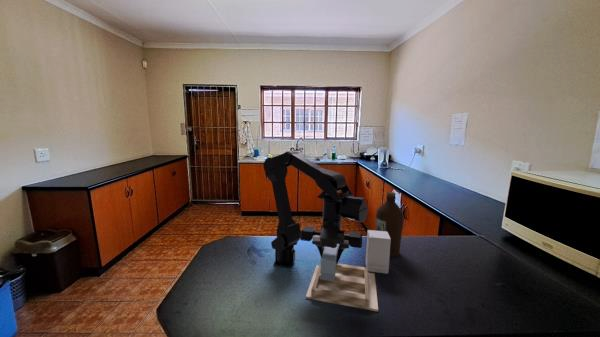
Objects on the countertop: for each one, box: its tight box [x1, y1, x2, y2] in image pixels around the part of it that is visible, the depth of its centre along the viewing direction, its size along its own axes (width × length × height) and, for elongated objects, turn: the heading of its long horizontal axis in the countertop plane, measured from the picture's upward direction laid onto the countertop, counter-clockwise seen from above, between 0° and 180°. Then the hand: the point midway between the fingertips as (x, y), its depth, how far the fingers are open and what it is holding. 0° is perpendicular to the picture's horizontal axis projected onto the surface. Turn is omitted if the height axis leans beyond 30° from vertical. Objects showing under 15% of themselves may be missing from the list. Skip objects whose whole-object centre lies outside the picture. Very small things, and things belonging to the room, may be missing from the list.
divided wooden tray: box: [305, 261, 379, 312], centre depth 76 cm, size 20×18×3 cm
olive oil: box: [375, 191, 405, 258], centre depth 98 cm, size 11×11×25 cm
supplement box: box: [365, 229, 391, 275], centre depth 86 cm, size 7×7×13 cm
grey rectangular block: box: [320, 244, 339, 281], centre depth 76 cm, size 4×13×6 cm, turn 166°
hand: (329, 262), depth 76 cm, fingers closed on grey rectangular block, 4 cm apart
